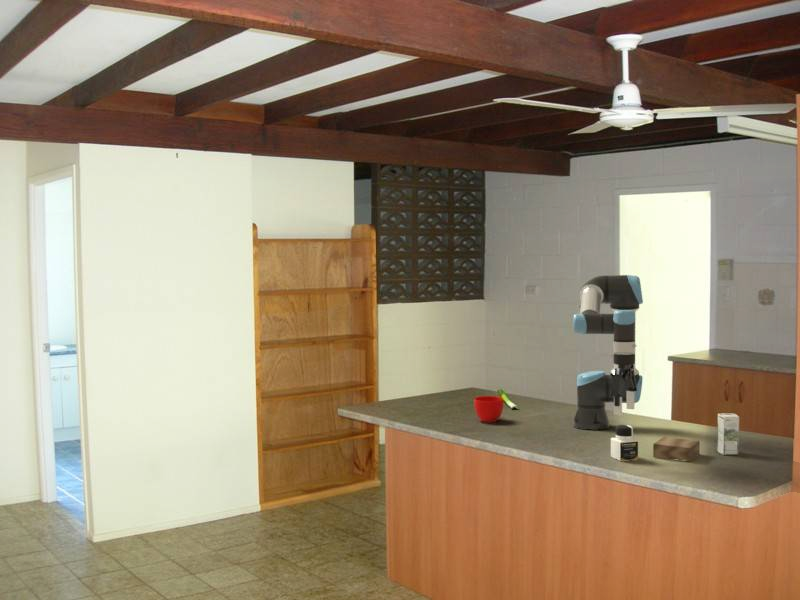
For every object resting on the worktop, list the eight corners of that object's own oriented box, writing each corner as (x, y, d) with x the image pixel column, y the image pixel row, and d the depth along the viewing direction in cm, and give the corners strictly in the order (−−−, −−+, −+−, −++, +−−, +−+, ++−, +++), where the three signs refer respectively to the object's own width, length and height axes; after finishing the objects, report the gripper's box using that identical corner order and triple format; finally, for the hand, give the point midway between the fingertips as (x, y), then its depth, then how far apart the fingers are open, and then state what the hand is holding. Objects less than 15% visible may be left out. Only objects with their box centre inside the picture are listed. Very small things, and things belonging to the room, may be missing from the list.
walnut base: (653, 457, 308) (653, 443, 307) (663, 450, 319) (663, 436, 318) (689, 462, 301) (690, 448, 300) (699, 454, 311) (699, 440, 311)
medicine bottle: (620, 461, 303) (620, 428, 302) (610, 457, 310) (610, 424, 309) (638, 460, 305) (638, 427, 304) (627, 455, 311) (627, 423, 311)
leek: (507, 414, 401) (492, 398, 430) (522, 416, 402) (506, 399, 431) (509, 402, 400) (494, 386, 430) (524, 403, 401) (507, 387, 431)
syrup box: (732, 451, 315) (732, 412, 314) (739, 455, 309) (739, 415, 308) (716, 451, 315) (717, 412, 314) (723, 455, 309) (723, 416, 308)
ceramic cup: (503, 416, 386) (503, 394, 386) (504, 424, 370) (503, 401, 369) (474, 416, 388) (474, 394, 387) (474, 424, 371) (473, 401, 370)
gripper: (622, 357, 292) (622, 418, 293) (645, 350, 313) (645, 407, 314) (601, 356, 296) (601, 416, 297) (625, 349, 317) (625, 405, 318)
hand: (624, 412), depth 306 cm, fingers open, 13 cm apart
